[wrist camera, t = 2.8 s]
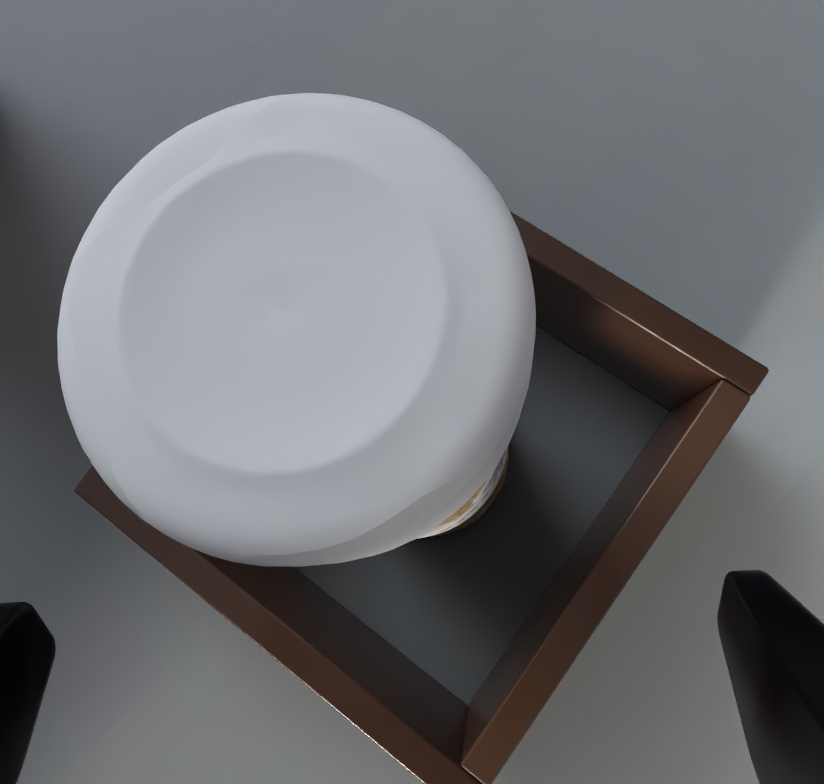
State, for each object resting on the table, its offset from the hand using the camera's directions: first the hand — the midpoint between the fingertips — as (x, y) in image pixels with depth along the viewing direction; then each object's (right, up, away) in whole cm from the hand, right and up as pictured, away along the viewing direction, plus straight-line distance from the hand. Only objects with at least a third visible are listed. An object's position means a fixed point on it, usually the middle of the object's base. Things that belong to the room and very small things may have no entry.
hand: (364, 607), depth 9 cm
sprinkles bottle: (+1, +1, +10) cm, 11 cm away
